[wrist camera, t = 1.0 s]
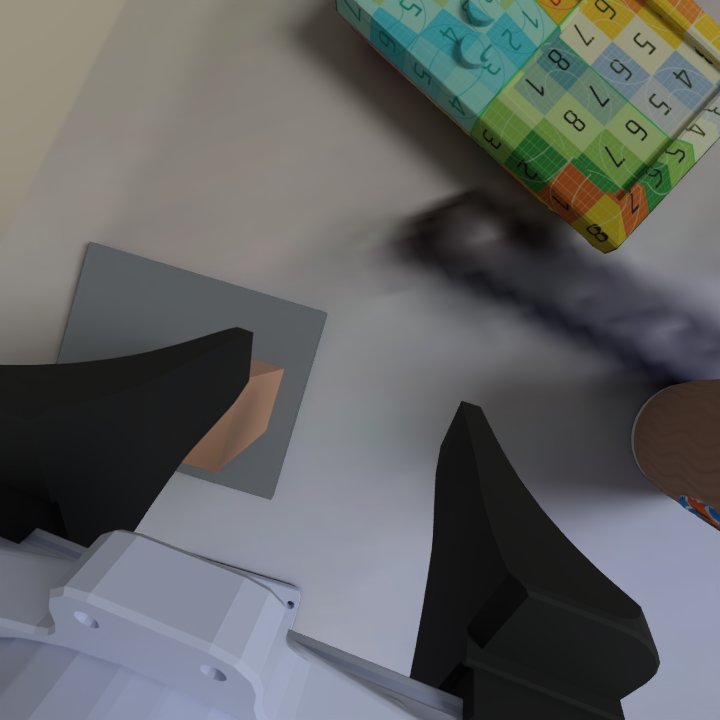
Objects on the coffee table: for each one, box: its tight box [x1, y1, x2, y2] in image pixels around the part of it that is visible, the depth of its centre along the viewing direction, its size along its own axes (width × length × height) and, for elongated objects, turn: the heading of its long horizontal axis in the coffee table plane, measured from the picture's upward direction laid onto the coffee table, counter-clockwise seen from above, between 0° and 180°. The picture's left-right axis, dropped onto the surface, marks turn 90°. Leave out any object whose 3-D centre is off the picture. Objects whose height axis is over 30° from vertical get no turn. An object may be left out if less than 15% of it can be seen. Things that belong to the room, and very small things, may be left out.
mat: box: [57, 242, 327, 500], centre depth 24 cm, size 12×15×1 cm
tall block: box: [182, 359, 284, 473], centre depth 20 cm, size 4×4×8 cm
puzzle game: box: [336, 0, 720, 254], centre depth 22 cm, size 12×5×20 cm
